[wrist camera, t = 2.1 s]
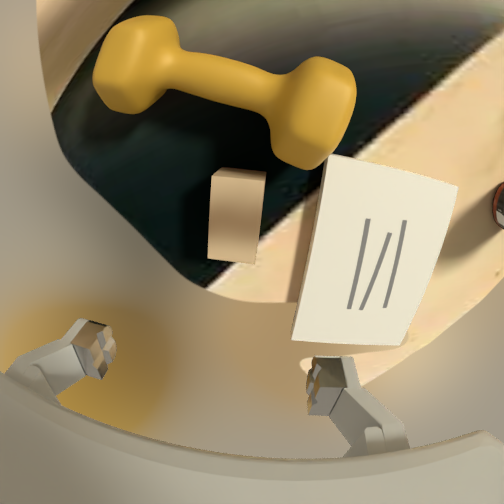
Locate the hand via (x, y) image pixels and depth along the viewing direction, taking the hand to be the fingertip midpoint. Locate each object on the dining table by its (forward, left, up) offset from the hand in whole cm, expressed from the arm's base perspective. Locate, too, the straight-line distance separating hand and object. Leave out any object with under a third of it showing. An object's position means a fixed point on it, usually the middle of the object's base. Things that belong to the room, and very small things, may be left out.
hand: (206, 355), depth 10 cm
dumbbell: (-11, -3, -18) cm, 22 cm away
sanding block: (-1, -1, -18) cm, 18 cm away
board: (+4, +13, -18) cm, 23 cm away
